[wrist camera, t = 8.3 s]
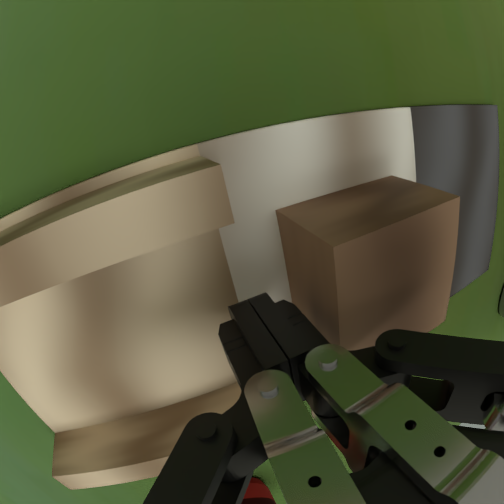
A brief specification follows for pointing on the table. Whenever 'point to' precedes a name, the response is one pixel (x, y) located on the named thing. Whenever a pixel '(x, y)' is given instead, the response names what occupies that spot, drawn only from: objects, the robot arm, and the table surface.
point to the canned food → (257, 493)
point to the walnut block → (371, 259)
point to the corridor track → (197, 269)
